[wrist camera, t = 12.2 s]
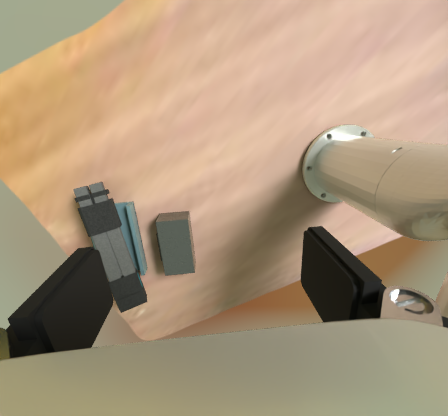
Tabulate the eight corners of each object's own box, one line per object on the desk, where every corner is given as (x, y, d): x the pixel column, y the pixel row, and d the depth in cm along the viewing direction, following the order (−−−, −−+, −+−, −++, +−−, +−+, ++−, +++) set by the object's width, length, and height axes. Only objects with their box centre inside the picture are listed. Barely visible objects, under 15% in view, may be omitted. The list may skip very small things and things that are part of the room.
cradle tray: (133, 201, 39) (129, 205, 37) (147, 268, 43) (144, 274, 41) (88, 205, 38) (82, 209, 36) (107, 272, 43) (103, 278, 41)
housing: (189, 211, 40) (187, 219, 37) (195, 261, 43) (194, 272, 40) (157, 213, 40) (152, 222, 36) (166, 264, 43) (162, 275, 40)
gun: (124, 298, 43) (116, 321, 33) (88, 195, 42) (69, 188, 32) (149, 288, 44) (148, 308, 35) (114, 188, 43) (103, 179, 34)
